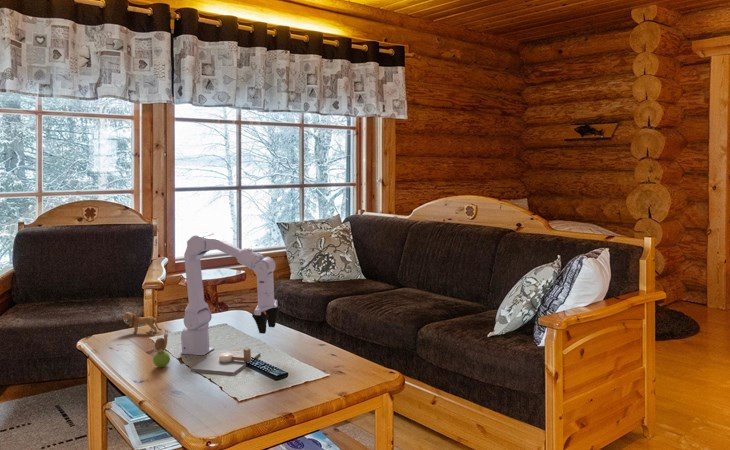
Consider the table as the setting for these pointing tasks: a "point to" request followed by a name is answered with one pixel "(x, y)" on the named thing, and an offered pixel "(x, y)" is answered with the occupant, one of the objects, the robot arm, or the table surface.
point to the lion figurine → (139, 321)
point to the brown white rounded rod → (236, 356)
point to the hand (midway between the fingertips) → (267, 330)
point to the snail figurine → (161, 352)
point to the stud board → (222, 364)
